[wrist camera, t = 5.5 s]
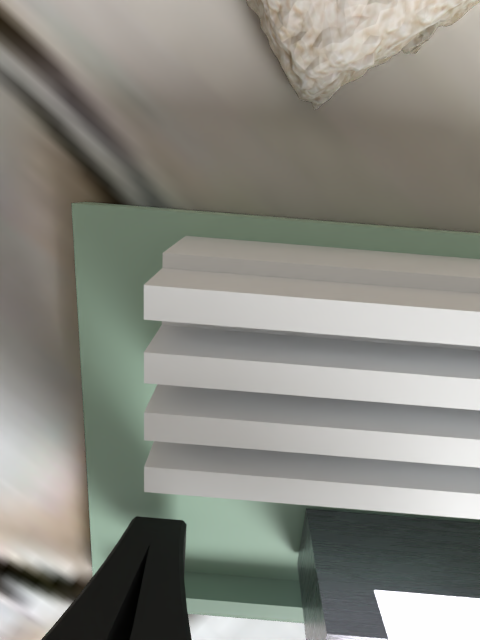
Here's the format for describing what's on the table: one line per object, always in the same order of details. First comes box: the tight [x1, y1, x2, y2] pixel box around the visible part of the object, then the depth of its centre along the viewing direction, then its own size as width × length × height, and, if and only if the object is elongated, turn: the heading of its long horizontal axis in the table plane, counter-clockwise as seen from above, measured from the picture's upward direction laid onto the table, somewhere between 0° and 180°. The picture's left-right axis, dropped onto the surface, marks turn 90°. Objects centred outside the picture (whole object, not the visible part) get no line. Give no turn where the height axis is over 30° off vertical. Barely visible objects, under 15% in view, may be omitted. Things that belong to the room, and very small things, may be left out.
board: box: [71, 202, 480, 623], centre depth 9 cm, size 16×12×4 cm
